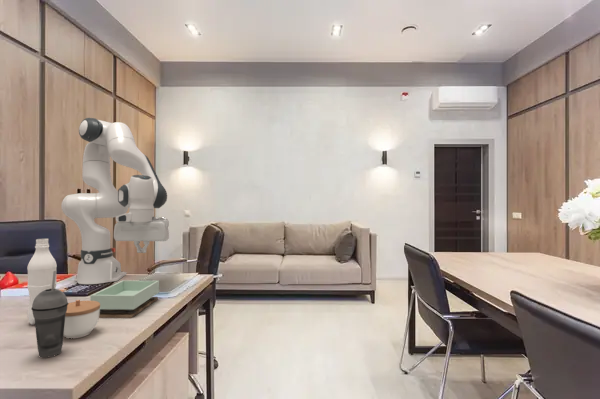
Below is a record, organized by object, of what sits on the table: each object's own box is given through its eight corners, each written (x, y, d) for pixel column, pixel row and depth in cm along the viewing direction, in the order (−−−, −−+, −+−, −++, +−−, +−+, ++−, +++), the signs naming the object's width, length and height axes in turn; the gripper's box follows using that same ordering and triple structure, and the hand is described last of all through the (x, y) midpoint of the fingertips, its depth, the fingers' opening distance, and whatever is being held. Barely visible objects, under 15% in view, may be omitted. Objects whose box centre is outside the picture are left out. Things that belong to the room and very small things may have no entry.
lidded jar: (60, 345, 90) (60, 309, 90) (49, 334, 97) (49, 300, 97) (106, 334, 97) (105, 300, 97) (93, 324, 105) (92, 292, 105)
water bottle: (59, 322, 106) (59, 239, 106) (29, 328, 101) (29, 241, 101) (54, 316, 111) (53, 237, 111) (25, 322, 106) (25, 239, 106)
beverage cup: (48, 346, 89) (48, 267, 89) (75, 347, 88) (75, 268, 88) (23, 359, 82) (22, 273, 82) (52, 361, 81) (52, 274, 81)
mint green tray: (122, 295, 130) (122, 280, 130) (159, 295, 130) (159, 280, 130) (90, 313, 110) (90, 295, 110) (133, 313, 110) (133, 295, 110)
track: (103, 298, 130) (103, 295, 130) (157, 299, 130) (157, 296, 130) (67, 317, 110) (67, 314, 110) (131, 318, 110) (131, 314, 110)
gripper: (171, 216, 139) (171, 251, 139) (120, 216, 140) (120, 251, 140) (165, 217, 133) (165, 254, 133) (111, 217, 133) (111, 253, 134)
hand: (141, 252), depth 137 cm, fingers closed
